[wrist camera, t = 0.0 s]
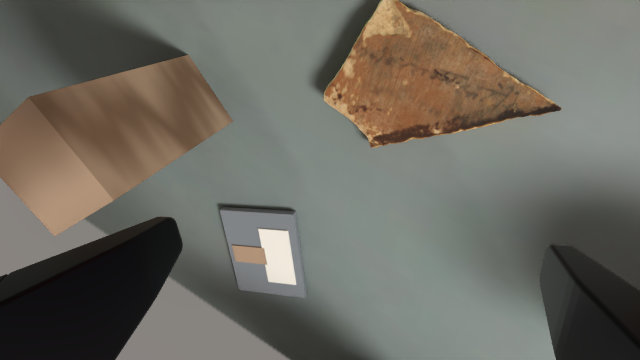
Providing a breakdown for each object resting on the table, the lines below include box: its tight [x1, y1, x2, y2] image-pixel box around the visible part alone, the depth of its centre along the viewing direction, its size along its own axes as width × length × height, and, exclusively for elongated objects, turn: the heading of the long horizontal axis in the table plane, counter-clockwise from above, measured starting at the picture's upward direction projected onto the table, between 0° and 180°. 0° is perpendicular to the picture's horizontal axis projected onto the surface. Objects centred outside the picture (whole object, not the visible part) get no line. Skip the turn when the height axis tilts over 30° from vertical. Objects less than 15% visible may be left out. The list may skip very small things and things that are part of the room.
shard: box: [323, 0, 562, 147], centre depth 21 cm, size 11×8×2 cm
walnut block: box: [0, 55, 233, 236], centre depth 21 cm, size 5×5×11 cm
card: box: [220, 207, 307, 298], centre depth 29 cm, size 8×6×1 cm
